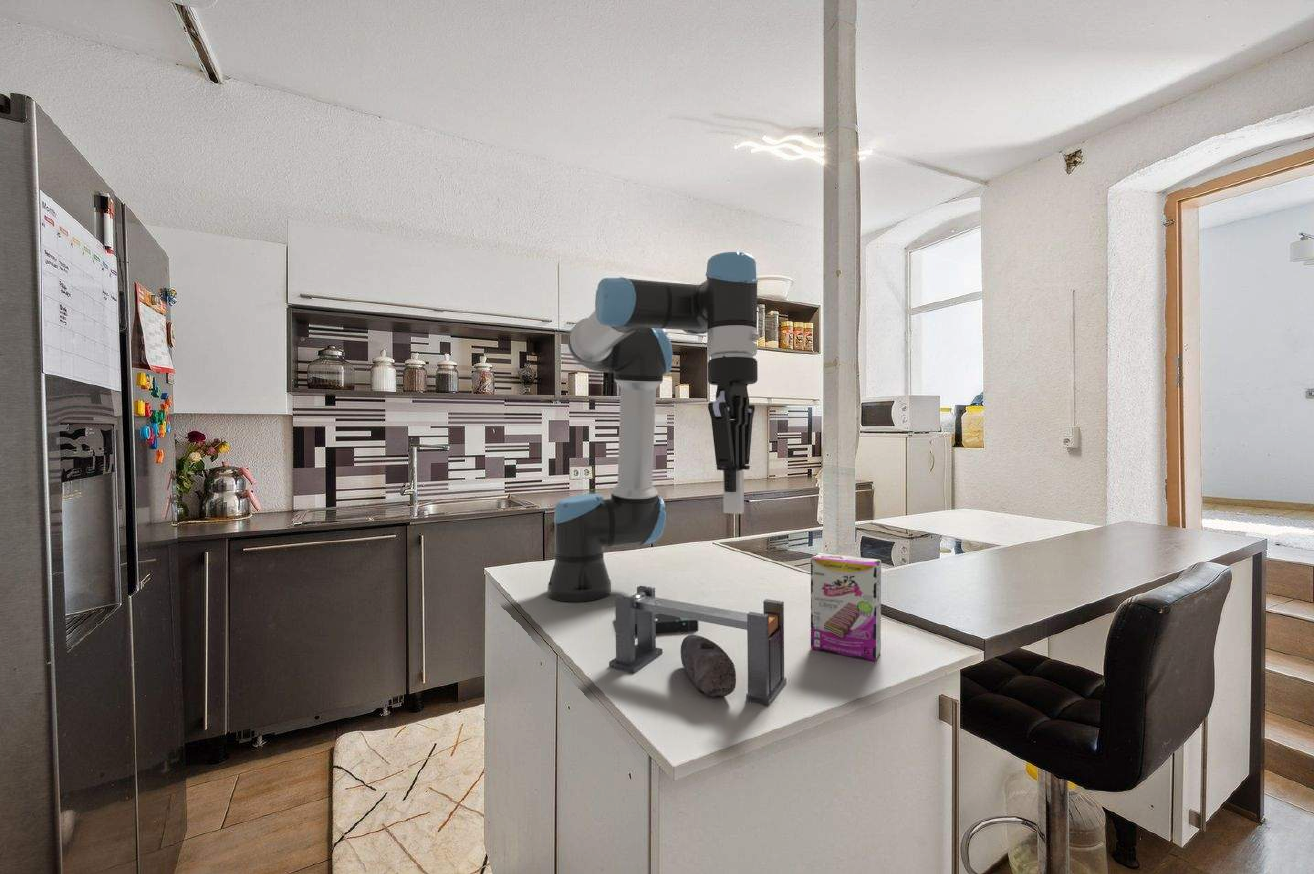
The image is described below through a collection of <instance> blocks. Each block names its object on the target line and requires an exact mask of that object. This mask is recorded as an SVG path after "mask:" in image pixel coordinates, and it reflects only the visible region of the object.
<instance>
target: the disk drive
mask: <svg viewBox="0 0 1314 874" xmlns="http://www.w3.org/2000/svg"><path fill="white" fill-rule="evenodd" d="M655 622H656V635H658V634H671V633H674V634H675V633H686V632H688V633H689V632H699V621H697V620H692V619H686V618H681V617H676V616H671V615H665V614H660V613H655ZM635 636H637V609H635Z"/></svg>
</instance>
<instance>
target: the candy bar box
mask: <svg viewBox="0 0 1314 874" xmlns="http://www.w3.org/2000/svg"><path fill="white" fill-rule="evenodd" d="M881 598H882V560H881V559H877V558H876V559H875V558H869V557H861V556H860V557H859V556H853V555H852V556H851V555H842V554H833V553H824V552H817V553H815V554H814V555H812V556H811V558H810V648H811V649H813V650H816V651H817V650H818V651H823V652H828V653H832V654H838V655H843V656H848V657H852V658H858V659H862V660H863V659H864V660H868V661H873V662H876V661H877V659H878V657H879V655H880V653H881V651H882V650H881V649H882V641H881V640H882V638H881V636H882V634H881V632H882V631H881V630H882V627H881V626H882V617H881V616H882V615H881V613H882V609H881V608H882V606H881V605H882V601H881V600H882V599H881Z"/></svg>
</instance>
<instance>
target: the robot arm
mask: <svg viewBox="0 0 1314 874" xmlns="http://www.w3.org/2000/svg"><path fill="white" fill-rule="evenodd" d="M706 264H707V265H706V272H705V278H706V280H705V281H704V282H702V283H700V284H695V283H694V284H693V283H684V282H683V283H682V282H681V283H679V282H667V281H658V280H657V281H655V280H645V279H637V278H635V279H633V278H626V277H623V276H622V277H621V276H620V277H605V278H602V279H601V280H600V281H599V282H598V284H597V289H596V292H595V300H594V308H595V309H594V311H593V312H592V313H591V314H590V315H589V316H588V317H586V318H582V319H579V321H577V322H576V323H575V324H574V325H573V327H572V328H571V329H570V331H569V334H568V338H567V346H568V350H569V352H570V354H571V357H573V359H574V360H575V361H576V362H577V363H578V364H580V365H582V366H583V367H585V368H587V369H589V370H591V371H594V372H599V373H600V372H601V373H609V374H610V373H614V375H613V376H614V377H613V380H614V382H615V383H616V384H617V385H618V386H619V388H620V389H619V390H620V392H619V393H620V394H619V397H620V398H619V422H618V423H619V426H618V427H619V428H618V431H619V432H618V435H619V436H618V462H617V484H616V485H615V486H614V487H613V488H612V489H611V492H610V493H611V495H610V498H606V499H604V496H603V495H602V494H601V493H585V494H579V495H578V494H577V495H575V496H574V495H573V496H569V497H565V498H563V499H560V500H559V501H557V502H556V504H555V506H554V514H553V515H554V516H553V517H554V518H553V523H554V564H553V568H552V571H551V573H550V578H549V582H548V584H547V596H548V597H549V598H551V599H553V600H556V601H560V602H570V603H571V602H573V603H575V602H576V603H577V602H589V601H595V600H599V599H602V598H605V597H608V596H609V595H610V594H611V593H612V580H611V579H610V576H609V573H608V570H607V566H606V563H605V559H604V557H605V556H604V549H605V548H614V547H616V548H617V547H626V546H643V545H648V544H653V543H656V542H657V541H658V540H659V539H660V538H662V535H663V533H664V529H665V526H666V521H667V519H666V517H667V512H666V505H665V500H664V499H663V498H662V497H660V496H659V490H657V489H656V487H655V486H654V484H653V478H654V475H653V473H654V449H655V427H656V426H655V425H656V401H657V400H656V398H657V397H656V396H657V388H658V387H660V385H662V383H663V380H664V376H665V375H667V374H669V373H670V372H671V370H672V366H673V362H674V361H673V358H674V357H673V356H674V355H673V347H672V346H673V345H672V341H671V338H670V336H669V334H668V332H667V330H680V331H683V332H684V333H686V334H689V335H704V334H706V333H707V334H706V335H707V340H706V341H707V343H706V345H707V347H706V348H707V349H706V352H707V353H706V355H707V356H708V357H709V358H711V359H709V361H708V362H707V382H708V384H709V385H712V386H716V391H715V401H714V402H708V404H707V405H708V406H707V409H708V413H709V416H710V420H711V428H712V429H711V430H712V436H713V449H714V456H715V457H714V458H715V466H716V470H717V471H722V476H723V477H722V482H723V484H722V485H723V488H722V489H723V490H722V491H723V493H722V494H723V498H722V499H723V514H734V515H742V514H744V513H745V512H744V511H745V502H744V501H745V499H744V498H745V497H744V491H745V490H744V488H745V487H744V486H745V485H744V479H745V478H744V471H745V470H747V471H749V470H750V468H751V466H750V465H749V464H750V459H751V447H752V446H751V444H752V433H753V421H754V420H753V419H754V416H755V411H756V406H755V405H754V404H750V397H749V391H748V386H749V385H755V384H756V383H757V382H758V379H759V377H758V375H759V374H758V373H759V372H758V360H757V359H756V358H754V357H755V356H756V355H757V354H758V340H760V338H761V336H760V334H759V333H758V329H757V328H758V282H759V280H758V277H757V276H758V275H757V262H756V260H755V258H754V256H752V255H751V254H750V253H749V254H748V253H746V252H741V251H726V252H725V251H724V252H720V253H717V254H714V255H712V256H710V258H708V260H707V263H706Z"/></svg>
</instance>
